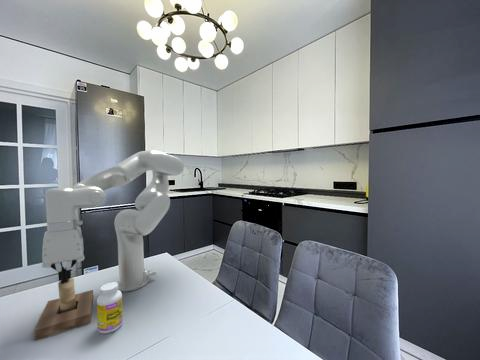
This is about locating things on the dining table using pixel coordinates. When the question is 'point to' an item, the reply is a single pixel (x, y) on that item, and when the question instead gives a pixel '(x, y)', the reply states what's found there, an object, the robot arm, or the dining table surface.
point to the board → (64, 316)
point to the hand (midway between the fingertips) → (65, 281)
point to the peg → (67, 296)
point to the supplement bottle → (109, 308)
